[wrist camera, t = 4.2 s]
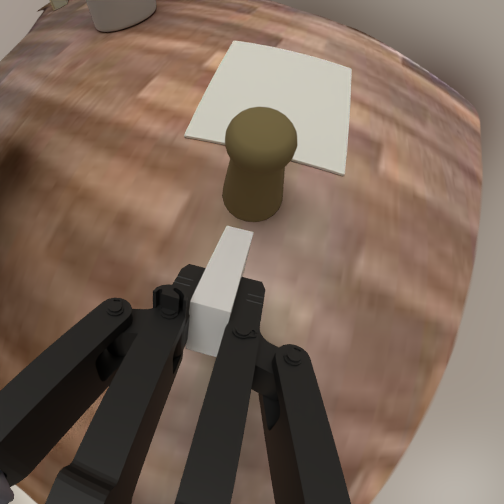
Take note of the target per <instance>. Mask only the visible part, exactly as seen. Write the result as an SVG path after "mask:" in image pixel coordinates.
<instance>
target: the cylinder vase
mask: <svg viewBox="0 0 504 504" xmlns="http://www.w3.org/2000/svg"><path fill="white" fill-rule="evenodd" d="M86 2H87V5H88V8H89V11H90V14H91V17H92V20H93V23H94V25H95V28H96V29H97V30H99V31H102V32H111V31H117V30H121V29H125V28H128V27H130V26H133V25H135V24H137V23H139V22H141V21H143V20H145V19H146V18H148V17H149V16H150V15H152V14H153V12H154V11H155V9H156V0H86Z"/></svg>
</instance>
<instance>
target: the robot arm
mask: <svg viewBox="0 0 504 504" xmlns="http://www.w3.org/2000/svg"><path fill="white" fill-rule="evenodd" d="M252 236H253V232H251V231H247V230H243V229H239V228H235V227H231V226H226V228H225V230H224V232H223V234H222V236H221V238H220V240H219V242H218V244H217V246H216V248H215V250H214V253H213V255H212V257H211V259H210V261H209V263H208V265H207V267H206V268H203V267H199V266H195V265H191V264H189V265H187V266H185V267H184V268H182V269H181V271H180V272H179V274H178V277H177V278H176V279H175V281H174V283H173V284H172V285H161V286H159V287H157V288H156V289H155V290H154V291H153V308H152V309H132V307H131V305H130V303H129V302H127V301H126V300H124V299H121V298H111V299H107V300H106V301H104V302H102V303H101V304H100V305H99V306H97V307H96V308H95V309H94V310H92V311H91V312H90V313H89V314H88V315H86V316H85V317H84V318H83V319H81V320H80V321H79V322H78V323H77V324H75V325H74V326H73V327H72V328H71V329H69V330H68V331H67V332H66V333H65V334H63V335H62V336H61V337H60V338H59V339H58V340H56V341H55V342H54V343H53V344H52V345H51V346H49V347H48V348H47V349H46V350H45V351H44V352H43V353H41V354H40V355H39V356H38V357H37V358H36V359H35V360H33V361H32V362H31V363H30V364H29V365H28V366H27V367H26V368H25V369H23V370H22V371H21V372H20V373H19V374H18V375H17V376H16V377H15V378H14V379H13V380H11V381H10V382H9V383H8V384H7V385H6V386H5V387H4V388H3V389H2V390H1V391H0V504H8V503H9V502H11V501H13V499H14V494H13V491H12V490H11V488H10V487H11V486H13V485H15V484H17V483H19V482H20V481H21V480H23V479H24V478H26V477H27V476H28V475H29V474H30V473H31V472H32V471H33V470H34V468H35V467H36V466H37V465H38V464H39V463H40V462H41V460H42V459H43V458H44V457H45V456H46V455H47V454H48V453H49V451H50V450H51V449H52V448H53V447H54V446H55V445H56V444H57V443H58V441H59V440H60V439H61V438H62V437H63V436H64V435H65V434H66V432H67V431H68V430H69V429H70V428H71V427H72V426H73V425H74V424H75V423H76V421H77V420H78V419H79V418H80V417H81V416H82V415H83V414H84V413H85V411H86V410H87V409H88V408H89V407H90V406H91V405H92V404H93V403H94V402H95V400H96V399H97V398H98V397H99V396H100V395H101V394H102V393H103V392H104V391H105V390H106V388H107V387H108V386H109V385H110V386H109V388H108V389H107V391H106V393H105V395H104V397H103V399H102V401H101V403H100V405H99V407H98V409H97V411H96V413H95V415H94V417H93V419H92V421H91V423H90V425H89V427H88V429H87V432H86V434H85V436H84V438H83V440H82V442H81V444H80V446H79V449H78V451H77V453H76V455H75V457H74V459H73V461H72V463H71V464H70V465H68V466H66V467H64V468H63V469H62V470H61V471H60V472H59V473H58V475H57V477H56V479H55V482H54V484H53V486H52V489H51V491H50V493H49V496H48V498H47V501H46V503H45V504H132V496H133V493H134V490H135V487H136V484H137V481H138V478H139V475H140V473H141V470H142V467H143V464H144V461H145V458H146V455H147V452H148V450H149V447H150V444H151V441H152V438H153V436H154V433H155V430H156V427H157V425H158V422H159V419H160V416H161V414H162V411H163V408H164V406H165V403H166V400H167V398H168V395H169V392H170V390H171V387H172V384H173V382H174V379H175V376H176V374H177V371H178V368H179V366H180V363H181V361H182V357H183V349H184V347H185V344H186V349H189V350H193V351H196V352H200V353H203V354H207V355H211V356H214V357H216V361H215V364H214V368H213V371H212V375H211V378H210V382H209V385H208V389H207V392H206V395H205V399H204V402H203V406H202V409H201V413H200V416H199V420H198V423H197V427H196V430H195V434H194V437H193V441H192V444H191V448H190V451H189V455H188V458H187V462H186V465H185V469H184V472H183V476H182V479H181V483H180V487H179V490H178V494H177V497H176V501H175V504H230V503H231V498H232V493H233V488H234V483H235V477H236V472H237V467H238V461H239V456H240V450H241V445H242V439H243V434H244V428H245V422H246V417H247V411H248V405H249V399H250V393H251V389H252V390H254V391H256V392H258V393H259V401H260V407H261V414H262V421H263V428H264V434H265V441H266V448H267V454H268V461H269V467H270V474H271V480H272V486H273V493H274V499H275V504H351V502H350V498H349V494H348V491H347V487H346V483H345V479H344V475H343V472H342V468H341V464H340V461H339V457H338V453H337V450H336V446H335V442H334V439H333V435H332V432H331V428H330V425H329V421H328V418H327V414H326V411H325V407H324V404H323V400H322V397H321V393H320V390H319V387H318V383H317V380H316V376H315V373H314V370H313V366H312V363H311V360H310V357H309V355H308V353H307V352H306V351H305V350H304V349H302V348H301V347H298V346H296V345H291V344H288V345H283V346H281V347H279V348H278V347H276V346H275V345H273V344H271V343H269V342H268V341H266V340H265V339H264V338H263V336H262V335H261V333H260V321H261V315H262V308H263V302H264V295H265V288H264V286H263V283H262V282H260V281H256V280H252V279H248V278H244V277H243V273H244V269H245V265H246V261H247V257H248V253H249V249H250V244H251V240H252Z"/></svg>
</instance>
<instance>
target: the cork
mask: <svg viewBox="0 0 504 504" xmlns="http://www.w3.org/2000/svg"><path fill="white" fill-rule="evenodd" d="M225 146H226V149H227V153H228V155H229V157H230V162H229V166H228V170H227V174H226V178H225V182H224V186H223V194H222V197H223V201H224V204H225V206H226V207H227V209H228V210H229V212H230V213H231V214H233V215H234V216H235V217H237V218H239V219H241V220H244V221H249V222H258V221H263V220H266V219H268V218H269V217H271V216H273V215H274V214H275V213H276V211H277V210H278V209H279V207H280V205H281V202H282V197H283V184H284V171H285V166H286V165H287V164H288V163H289V162H290V161H291V160H292V159H293V156H294V154H295V151H296V149H297V132H296V130H295V127H294V125H293V123H292V122H291V121H290V120H289V119H288V118H287V116H286V115H284V114H283V113H281V112H279V111H278V110H275V109H272V108H269V107H252V108H248V109H246V110H244V111H242V112H240V113H239V114H238V115H236V116H235V117H234V118H233V119H232V120H231V122H230V124H229V125H228V127H227V130H226V135H225Z"/></svg>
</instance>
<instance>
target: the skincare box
mask: <svg viewBox="0 0 504 504" xmlns="http://www.w3.org/2000/svg"><path fill="white" fill-rule="evenodd" d="M50 3H51V6H52V8H53V10H54V11H55V10H57V9H59V8H61V7H63V6H65V5H67V3H68V0H50Z"/></svg>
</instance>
